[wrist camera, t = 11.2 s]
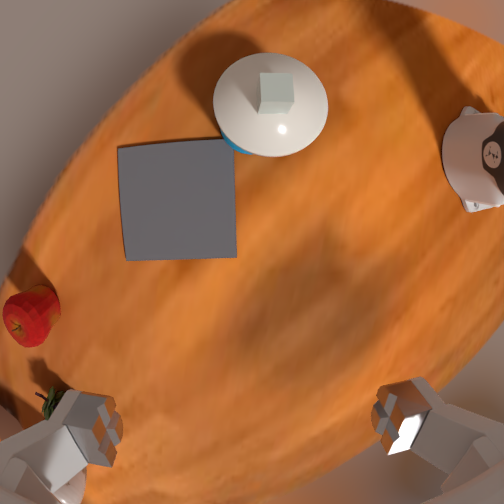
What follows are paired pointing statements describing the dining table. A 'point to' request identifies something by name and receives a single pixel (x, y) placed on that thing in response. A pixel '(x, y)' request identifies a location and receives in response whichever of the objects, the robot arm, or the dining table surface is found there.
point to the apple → (31, 315)
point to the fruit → (50, 402)
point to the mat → (178, 200)
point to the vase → (72, 489)
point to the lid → (270, 104)
